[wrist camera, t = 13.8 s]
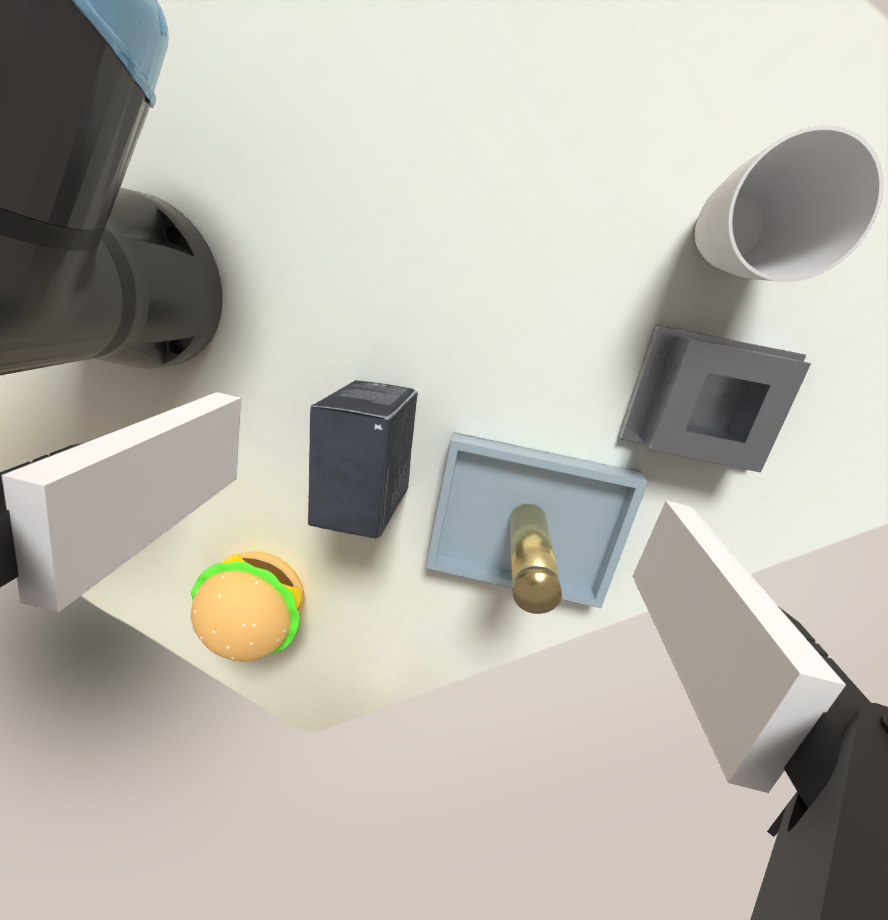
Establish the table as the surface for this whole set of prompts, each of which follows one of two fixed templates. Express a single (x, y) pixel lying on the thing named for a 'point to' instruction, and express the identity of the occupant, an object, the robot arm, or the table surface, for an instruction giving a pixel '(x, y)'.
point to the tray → (543, 484)
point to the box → (360, 456)
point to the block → (712, 398)
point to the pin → (533, 561)
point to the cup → (793, 207)
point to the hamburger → (247, 606)
